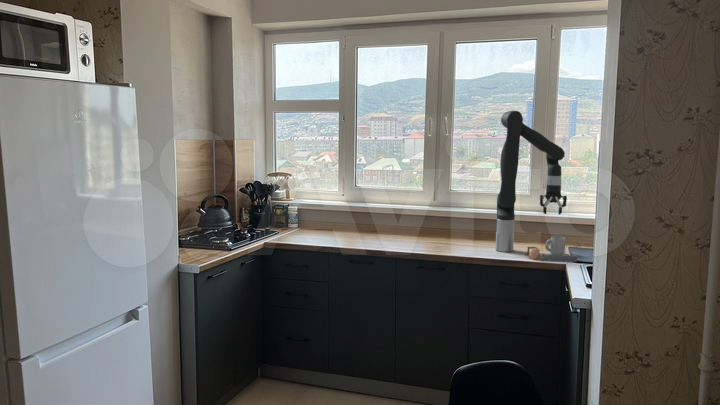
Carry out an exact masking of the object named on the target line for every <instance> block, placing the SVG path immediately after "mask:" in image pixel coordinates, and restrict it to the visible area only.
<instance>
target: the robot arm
mask: <svg viewBox="0 0 720 405" xmlns="http://www.w3.org/2000/svg"><path fill="white" fill-rule="evenodd" d="M500 122H501V125H502V126H503V127H504V128H506V137H505V141H504V144H503V146H502V149H501V153H500V163H499V164H500V165H499V166H500V179H501V183H500V188H499V189H500V190H499V192H498V194H497V197H496V230H495V251H496V252H504V253H509V252H511V253H512V252H514V242H515V238H514V237H515V218H516V217H515V216H516V215H515V203H516V201H517V198H516V197H517V195H516V193H517V192H516V180H517V176H518V168H519V158H520V157H519V156H520V140H521V139H520V138H523V139H524V140H526V141H527V142H528V143H530V144H531V145H532V146H534V147H535V148H536V149H538V150H539V151H541V152H543V153H546V155H545V156H546V157H545V159H546V165H547V175H546V176H547V178H546V186H545V190H546V191H545V194H540V195H539V205H540V206H541V207H543V210H542V212H543V214H545V215H547V206H548V205H549V204H550V203H551V204H552V203H555V204H556V203H557V205H558V215H561V214H562V212H563V208H565V207H566V206H567V199H568V198H567V195H562V166H561V165H560V164H559V161H561V160H563V159H565V154H566V152H565V151H564V149H563V148H562V147H561V146H559V145H557V144H556V143H554V142H553V141H551V140H549V139H548V138H547V137H546V136H544V135H543V134H542V133H540V132H539V131H536V130H535V129H533V128H531V127H529V126H528V125H527V124H525V123H523V122H524V117H523V114H522V113H521V112H520V111H519V110H508V111H505V112H504V113H503V114H502V115H501V118H500ZM545 198H546V200H545ZM544 200H545V202H544ZM560 200H562V203H561V201H560Z"/></svg>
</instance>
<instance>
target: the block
mask: <svg viewBox="0 0 720 405" xmlns="http://www.w3.org/2000/svg"><path fill="white" fill-rule="evenodd" d="M530 248H537V249H539V248H538V247H536V246H527V249H526V250H527V255H528V256H529V249H530Z"/></svg>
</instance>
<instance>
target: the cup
mask: <svg viewBox="0 0 720 405" xmlns="http://www.w3.org/2000/svg"><path fill="white" fill-rule="evenodd" d="M549 244H550V245H549ZM544 246H545V250H546V251H547V252H549V254H550V255H566V254H565V253H566V237H565V236H559V235H558V236H557V235H555V236H554V235H553V236H550V239H547V240H546V241H545V245H544ZM549 246H550V247H549Z"/></svg>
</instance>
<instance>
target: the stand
mask: <svg viewBox="0 0 720 405" xmlns="http://www.w3.org/2000/svg"><path fill="white" fill-rule="evenodd" d="M541 254H542V255H541V257H542V261H543V260H550V261H549V262H566V261H567V262H569V263H570V262H572V263H577V262H578V255H577V254H572V255H569V254H568V255H567V254H564V255H552V254H550V253H549V254H548V253H544V252H542V253H541Z"/></svg>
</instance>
